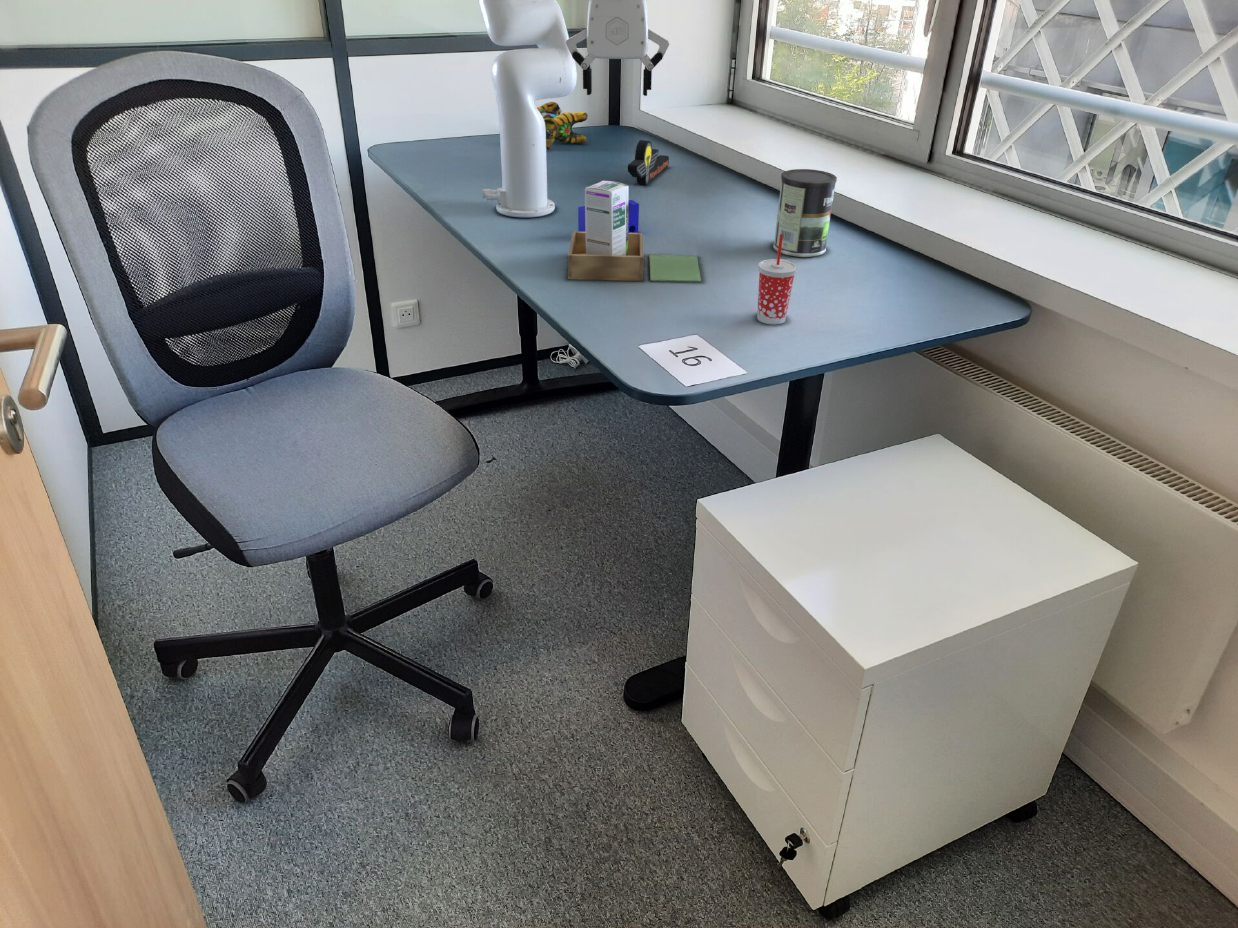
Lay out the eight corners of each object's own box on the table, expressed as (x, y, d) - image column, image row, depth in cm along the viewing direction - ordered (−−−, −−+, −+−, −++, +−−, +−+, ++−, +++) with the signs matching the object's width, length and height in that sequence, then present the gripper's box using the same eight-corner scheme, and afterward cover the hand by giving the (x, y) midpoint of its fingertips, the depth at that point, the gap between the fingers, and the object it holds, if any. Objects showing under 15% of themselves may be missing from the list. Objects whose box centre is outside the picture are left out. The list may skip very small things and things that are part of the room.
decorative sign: (635, 194, 202) (637, 149, 196) (626, 193, 202) (628, 148, 197) (668, 166, 223) (670, 125, 218) (660, 165, 224) (662, 124, 219)
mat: (650, 281, 156) (650, 279, 156) (649, 256, 167) (649, 254, 167) (700, 282, 156) (701, 280, 156) (696, 257, 167) (696, 255, 167)
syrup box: (611, 272, 158) (612, 191, 150) (584, 266, 161) (584, 186, 153) (628, 263, 162) (630, 184, 154) (601, 257, 165) (602, 179, 157)
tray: (568, 279, 156) (568, 255, 154) (572, 254, 167) (572, 231, 165) (642, 281, 156) (643, 257, 154) (642, 255, 167) (642, 233, 165)
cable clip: (627, 227, 182) (628, 198, 178) (638, 233, 178) (639, 203, 175) (575, 234, 177) (574, 204, 174) (584, 241, 174) (584, 211, 170)
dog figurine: (553, 148, 254) (504, 152, 243) (550, 102, 250) (499, 104, 239) (599, 146, 240) (549, 150, 229) (596, 97, 236) (545, 99, 225)
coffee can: (829, 244, 175) (840, 172, 167) (821, 260, 167) (832, 185, 159) (778, 237, 178) (787, 166, 170) (767, 253, 170) (776, 179, 162)
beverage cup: (776, 329, 139) (787, 243, 132) (744, 319, 143) (753, 234, 135) (797, 318, 143) (809, 234, 136) (765, 308, 147) (775, 225, 139)
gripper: (562, -18, 139) (565, 97, 148) (671, -17, 139) (667, 99, 148) (566, -21, 146) (568, 90, 155) (670, -20, 145) (666, 91, 155)
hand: (617, 94), depth 151 cm, fingers open, 9 cm apart
